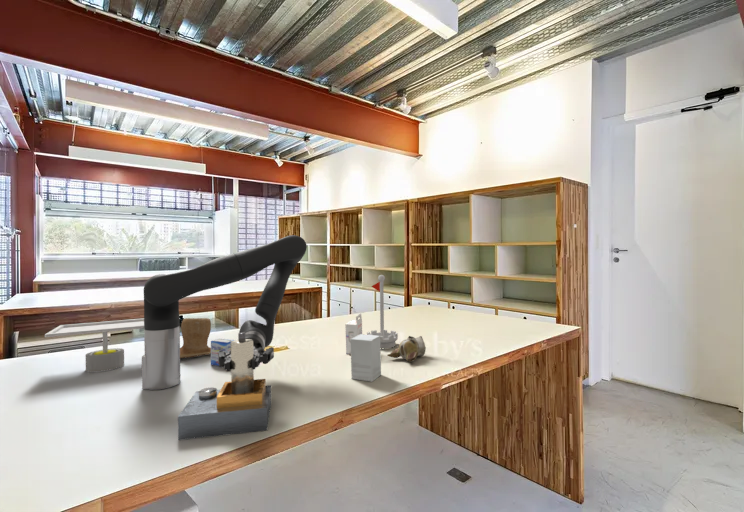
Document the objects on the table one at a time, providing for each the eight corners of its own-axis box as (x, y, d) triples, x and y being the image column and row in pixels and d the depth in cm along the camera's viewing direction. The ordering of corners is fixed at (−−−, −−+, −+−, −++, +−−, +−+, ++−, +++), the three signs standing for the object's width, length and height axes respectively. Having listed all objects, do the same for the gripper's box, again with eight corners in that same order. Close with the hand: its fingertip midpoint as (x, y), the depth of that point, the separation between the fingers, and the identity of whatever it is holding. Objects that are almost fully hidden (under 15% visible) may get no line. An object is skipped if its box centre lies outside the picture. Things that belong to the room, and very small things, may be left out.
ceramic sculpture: (432, 333, 133) (408, 343, 122) (434, 356, 133) (409, 368, 122) (410, 330, 140) (384, 339, 129) (411, 351, 141) (386, 362, 130)
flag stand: (403, 344, 153) (402, 274, 152) (388, 351, 142) (387, 276, 141) (377, 340, 160) (376, 273, 159) (360, 347, 149) (360, 275, 148)
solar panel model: (45, 382, 110) (44, 334, 110) (61, 367, 126) (60, 324, 125) (150, 368, 124) (149, 325, 124) (153, 355, 139) (152, 317, 139)
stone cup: (211, 349, 147) (211, 313, 147) (215, 356, 137) (214, 317, 136) (169, 355, 139) (168, 317, 139) (170, 363, 129) (169, 322, 129)
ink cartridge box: (351, 348, 147) (350, 312, 147) (362, 348, 146) (362, 312, 146) (345, 354, 138) (344, 316, 138) (357, 354, 137) (357, 316, 137)
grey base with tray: (178, 440, 75) (177, 404, 75) (196, 411, 89) (196, 381, 89) (267, 430, 79) (266, 396, 79) (271, 404, 92) (271, 375, 92)
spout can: (229, 397, 81) (228, 336, 81) (233, 389, 86) (232, 331, 86) (252, 395, 82) (251, 334, 82) (255, 387, 87) (254, 330, 87)
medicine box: (210, 365, 127) (209, 340, 126) (220, 361, 131) (219, 337, 131) (227, 367, 124) (227, 342, 124) (236, 363, 128) (236, 339, 128)
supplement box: (381, 374, 114) (381, 335, 114) (372, 382, 108) (371, 340, 108) (361, 371, 117) (360, 333, 117) (350, 379, 111) (350, 338, 111)
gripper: (222, 335, 97) (206, 352, 80) (276, 331, 100) (272, 347, 83) (222, 362, 97) (207, 385, 80) (277, 358, 100) (273, 379, 83)
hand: (240, 366), depth 82 cm, fingers closed on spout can, 5 cm apart
